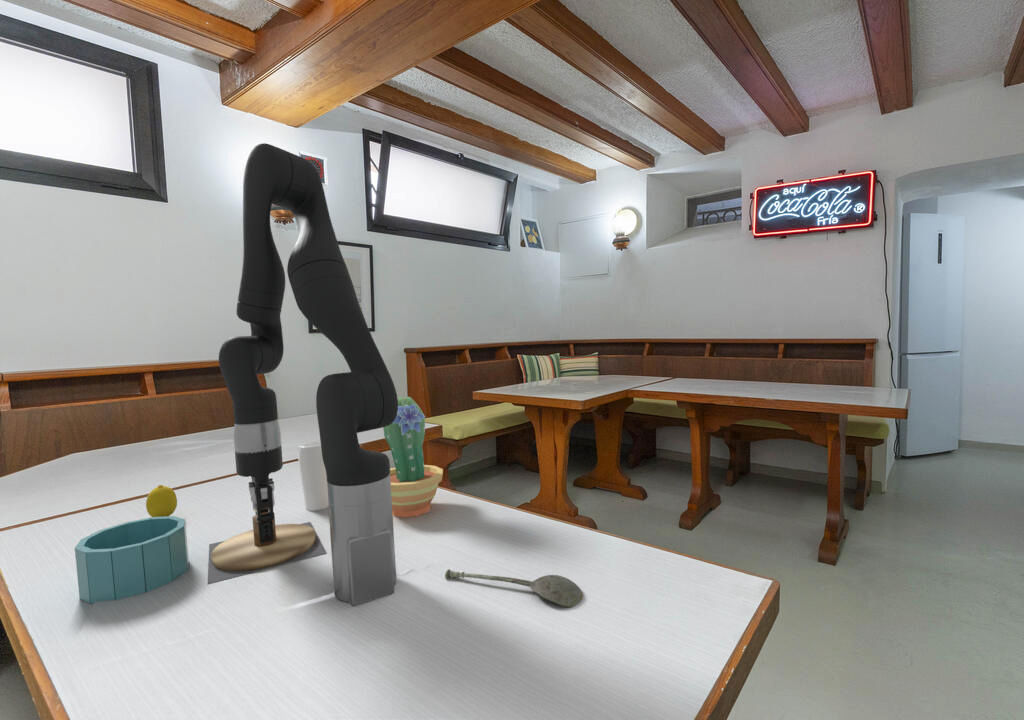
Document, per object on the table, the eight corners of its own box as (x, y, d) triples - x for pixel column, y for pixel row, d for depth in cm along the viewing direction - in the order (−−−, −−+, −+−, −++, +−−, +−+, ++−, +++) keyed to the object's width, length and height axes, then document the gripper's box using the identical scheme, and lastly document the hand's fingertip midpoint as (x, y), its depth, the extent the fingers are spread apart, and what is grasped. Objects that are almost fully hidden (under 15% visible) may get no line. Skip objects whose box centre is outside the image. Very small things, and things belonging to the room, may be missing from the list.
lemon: (184, 515, 110) (181, 481, 110) (164, 525, 105) (161, 489, 104) (161, 516, 111) (158, 481, 110) (141, 525, 105) (137, 489, 105)
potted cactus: (362, 522, 101) (354, 403, 100) (390, 497, 116) (384, 393, 115) (434, 523, 99) (427, 401, 98) (453, 497, 114) (448, 392, 113)
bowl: (186, 584, 78) (181, 536, 78) (70, 614, 71) (65, 560, 70) (190, 552, 90) (186, 510, 90) (92, 575, 83) (87, 529, 82)
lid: (323, 552, 87) (321, 518, 86) (211, 582, 78) (208, 544, 77) (308, 522, 101) (306, 493, 101) (212, 544, 92) (209, 512, 92)
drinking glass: (327, 513, 108) (322, 446, 107) (296, 514, 108) (291, 447, 107) (338, 502, 114) (334, 439, 113) (310, 503, 114) (305, 440, 114)
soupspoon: (577, 620, 66) (589, 597, 72) (578, 596, 66) (589, 575, 72) (436, 589, 74) (457, 570, 80) (436, 567, 74) (457, 550, 80)
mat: (327, 556, 86) (326, 553, 86) (207, 587, 77) (207, 584, 77) (310, 524, 102) (310, 521, 102) (209, 546, 92) (209, 544, 92)
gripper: (285, 449, 84) (292, 542, 85) (277, 436, 96) (283, 517, 97) (235, 457, 80) (243, 554, 81) (233, 442, 93) (240, 527, 93)
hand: (265, 534), depth 89 cm, fingers open, 7 cm apart
